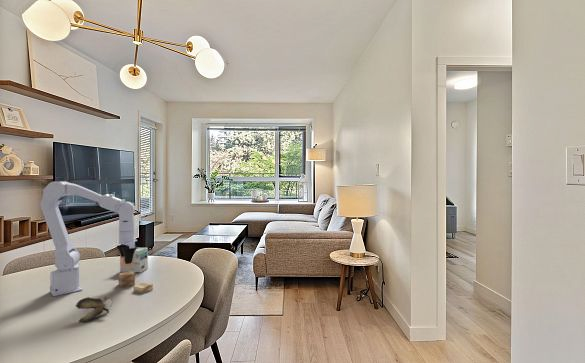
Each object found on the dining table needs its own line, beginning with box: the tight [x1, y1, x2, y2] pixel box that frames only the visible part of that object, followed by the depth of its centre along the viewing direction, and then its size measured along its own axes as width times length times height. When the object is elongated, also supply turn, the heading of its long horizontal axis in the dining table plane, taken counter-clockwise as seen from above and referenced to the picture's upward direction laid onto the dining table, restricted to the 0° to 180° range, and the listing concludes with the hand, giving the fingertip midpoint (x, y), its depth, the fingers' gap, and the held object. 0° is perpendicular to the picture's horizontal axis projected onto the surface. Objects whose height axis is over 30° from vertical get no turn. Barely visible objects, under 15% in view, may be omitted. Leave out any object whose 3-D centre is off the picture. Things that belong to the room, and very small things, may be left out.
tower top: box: [118, 271, 136, 282], centre depth 132 cm, size 5×5×2 cm
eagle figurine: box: [75, 296, 113, 324], centre depth 102 cm, size 8×7×9 cm
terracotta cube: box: [119, 256, 134, 268], centre depth 132 cm, size 4×4×4 cm
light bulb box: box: [119, 247, 149, 273], centre depth 151 cm, size 11×7×11 cm, turn 84°
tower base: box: [118, 279, 136, 288], centre depth 132 cm, size 5×5×2 cm
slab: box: [133, 281, 154, 294], centre depth 125 cm, size 5×5×2 cm
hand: (126, 262), depth 132 cm, fingers closed on terracotta cube, 4 cm apart
